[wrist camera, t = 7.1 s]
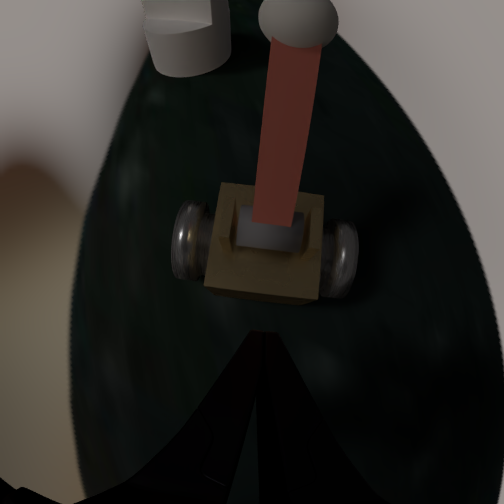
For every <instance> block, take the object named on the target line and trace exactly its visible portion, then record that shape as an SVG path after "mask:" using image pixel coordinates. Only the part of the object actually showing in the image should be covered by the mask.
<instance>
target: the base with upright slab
mask: <svg viewBox="0 0 504 504" xmlns="http://www.w3.org/2000/svg"><path fill="white" fill-rule="evenodd" d="M141 1H142V5H143V8H144V12H145V16H146V19H145V21H144V22H143V29H144V32H145V36H146V39H147V43H148V46H149V49H150V53H151V56H152V59H153V62H154V65H155V68H156V70H157V71H159V72H160V73H161V74H164V75H167V76H171V77H190V76H196V75H201V74H204V73H207V72H210V71H212V70H214V69H216V68H218V67H220V66H221V65H222V64H224V63H225V62H226V61H227V60H228V58H229V57H230V54H231V31H230V9H229V7H228V0H141Z"/></svg>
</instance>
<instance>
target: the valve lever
mask: <svg viewBox="0 0 504 504" xmlns="http://www.w3.org/2000/svg"><path fill="white" fill-rule="evenodd" d="M259 24H260V28H261V30H262V32H263V33H264V35H265V36H266V37H267V39H268V40H269V41H271V48H270V57H269V66H268V75H267V84H266V93H265V102H264V111H263V120H262V129H261V139H260V148H259V157H258V166H257V176H256V185H255V194H254V204H253V206H249V205H241V208H240V213H239V220H238V228H237V240H236V245H238V246H246V247H254V248H262V249H270V250H278V251H286V252H294V253H299V251H300V248H301V244H302V239H303V232H304V213H303V212H296V211H294V209H295V204H296V199H297V194H298V189H299V183H300V178H301V172H302V167H303V161H304V156H305V150H306V144H307V139H308V133H309V127H310V121H311V115H312V109H313V102H314V96H315V89H316V83H317V76H318V69H319V62H320V55H321V48H323V47H324V46H326V45H327V44H328V43H329V42H331V40H332V39H333V38H334V36H335V35H336V32H337V29H338V15H337V11H336V9H335V7H334V6H333V4H332V3H331V1H330V0H264V1H263V3H262V5H261V7H260V10H259Z"/></svg>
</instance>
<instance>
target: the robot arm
mask: <svg viewBox="0 0 504 504" xmlns="http://www.w3.org/2000/svg"><path fill="white" fill-rule="evenodd" d="M255 397H256V411H257V442H258V473H259V503H260V504H391V503H389V502H387V501H385V500H384V499H382V498H381V497H380V496H379V495H377V494H376V493H375V492H374V491H373V490H372V488H371V487H370V486H369V485H368V483H367V482H366V481H365V480H364V478H363V477H362V476H361V474H360V473H359V472H358V470H357V469H356V468H355V466H354V465H353V464H352V462H351V461H350V460H349V459H348V457H347V456H346V454H345V453H344V451H343V450H342V449H341V447H340V446H339V444H338V443H337V441H336V439H335V438H334V436H333V434H332V433H331V431H330V429H329V427H328V425H327V423H326V422H325V420H323V416H322V414H321V413H320V411H319V409H318V407H317V405H316V403H315V401H314V400H313V398H312V396H311V394H310V392H309V390H308V388H307V386H306V385H305V383H304V381H303V379H302V377H301V375H300V373H299V371H298V369H297V368H296V366H295V364H294V362H293V360H292V358H291V356H290V354H289V352H288V350H287V349H286V347H285V345H284V343H283V341H282V339H281V337H280V335H279V334H278V333H277V332H270V331H266V332H265V333H264V331H261V330H250V332H249V333H248V335H247V336H246V338H245V339H244V341H243V342H242V344H241V345H240V347H239V348H238V350H237V351H236V353H235V354H234V356H233V357H232V359H231V360H230V361H229V363H228V364H227V366H226V367H225V369H224V370H223V372H222V373H221V375H220V376H219V378H218V379H217V380H216V382H215V383H214V385H213V386H212V388H211V389H210V390H209V392H208V393H207V395H206V396H205V398H204V399H203V400H202V402H201V403H200V405H199V406H198V409H196V410H195V411H194V413H193V414H192V416H191V417H190V418H189V420H188V421H187V422H186V423H185V425H184V426H183V427H182V428H181V430H180V431H179V432H178V433H177V434H176V435H175V436H174V437H173V438H172V440H171V441H170V442H169V443H168V444H167V445H166V446H165V447H164V448H163V449H162V450H161V451H160V452H159V453H157V454H156V455H155V456H154V457H153V458H152V459H151V460H150V461H149V462H148V463H147V464H146V465H145V466H144V467H143V468H142V469H140V470H139V471H138V472H137V473H136V474H134V475H133V476H132V477H131V478H129V479H128V480H126V481H125V482H123V483H121V484H119V485H117V486H115V487H113V488H110V489H108V490H106V491H104V492H101V493H99V494H97V495H94V496H92V497H89V498H87V499H84V500H82V501H79V502H77V503H74V504H226V503H227V499H228V496H229V493H230V489H231V486H232V483H233V479H234V476H235V472H236V469H237V465H238V462H239V458H240V454H241V451H242V447H243V443H244V440H245V436H246V432H247V429H248V425H249V421H250V417H251V413H252V409H253V405H254V401H255ZM0 504H60V503H58V502H56V501H53V500H51V499H49V498H46V497H44V496H42V495H40V494H38V493H36V492H34V491H32V490H30V489H27V488H25V487H20V488H19V489H17V490H16V489H14V488H13V487H12V486H10V485H9V484H8V483H7V482H5V481H4V480H3V479H2V478H0Z"/></svg>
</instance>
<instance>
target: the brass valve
mask: <svg viewBox="0 0 504 504" xmlns="http://www.w3.org/2000/svg"><path fill="white" fill-rule="evenodd" d="M254 194H255V186H250V185H241V184H232V183H222V182H221V188H220V193H219V198H218V204H217V209H216V214H210V213H209V206H208V204H207V202H199V201H189V200H186V201H185V202H184V203H183V204H182V205H181V207H180V209H179V212H178V215H177V218H176V221H175V225H174V230H173V237H172V247H171V261H172V269H173V273H174V275H175V277H176V278H178V279H185V280H191V281H198V280H199V278H200V276H201V275H205V281H204V286H205V287H206V288H207V289H208V290H209V291H210V292H212V293H213V294H214V295H218V296H225V297H232V298H240V299H248V300H256V301H264V302H272V303H281V304H290V305H300V306H301V305H304V304H307V303H309V302H312V301H315V300H318V293H320V295H321V296H322V297H331V298H344V297H345V296H346V295H347V294H348V292H349V291H350V289H351V286H352V284H353V281H354V278H355V274H356V270H357V264H358V254H359V241H358V233H357V229H356V227H355V225H354V223H353V222H351V221H346V220H340V219H333V218H332V219H330V220H329V221H328V223H327V225H326V227H325V228H323V212H324V196H323V195H316V194H310V193H303V192H298V194H297V199H296V204H295V209H294V211H296V212H303V213H304V232H303V239H302V244H301V248H300V251H299V253H294V252H286V251H278V250H270V249H262V248H254V247H246V246H238V245H236V240H237V228H238V220H239V213H240V208H241V205H249V206H253V204H254Z"/></svg>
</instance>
